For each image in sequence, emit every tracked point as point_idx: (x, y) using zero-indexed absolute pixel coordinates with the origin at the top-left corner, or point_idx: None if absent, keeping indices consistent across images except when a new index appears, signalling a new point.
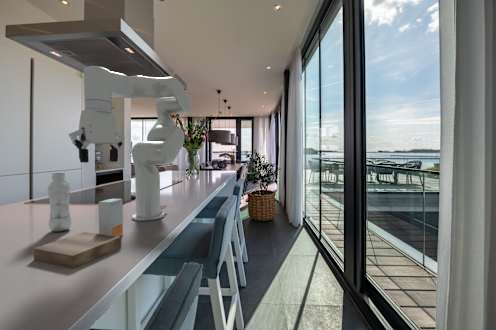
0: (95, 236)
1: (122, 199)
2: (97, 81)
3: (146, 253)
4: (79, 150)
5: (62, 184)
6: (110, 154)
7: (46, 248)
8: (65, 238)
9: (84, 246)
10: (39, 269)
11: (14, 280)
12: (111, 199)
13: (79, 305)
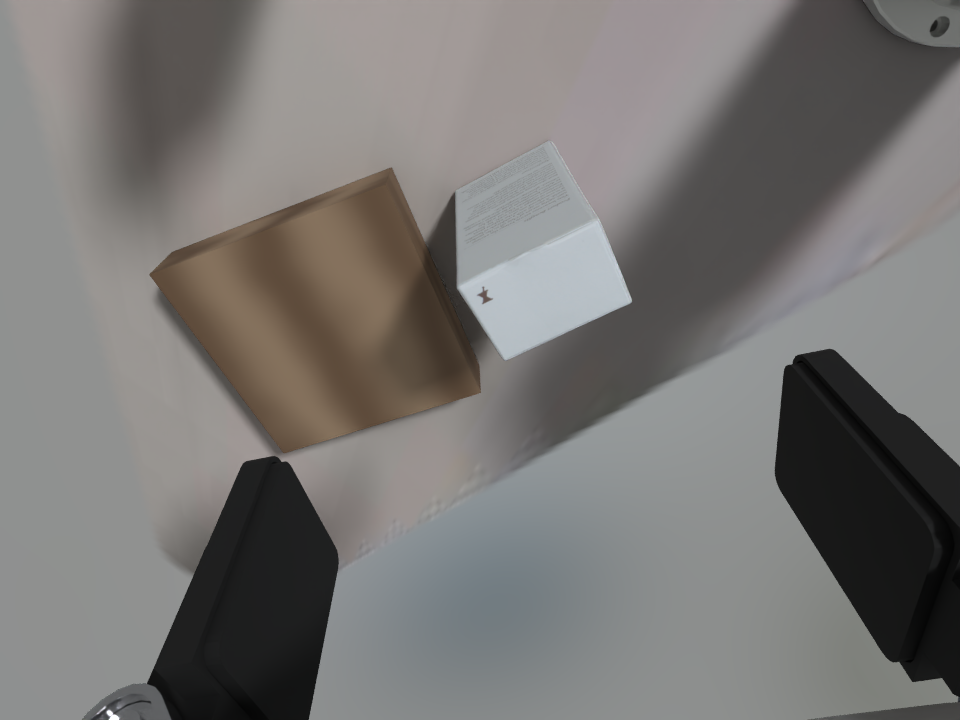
0: (403, 307)
1: (629, 303)
2: None
3: (510, 470)
4: (160, 688)
5: None
6: (858, 469)
7: (201, 318)
8: (280, 232)
9: (332, 398)
10: (199, 360)
11: (138, 389)
12: (564, 271)
13: None
